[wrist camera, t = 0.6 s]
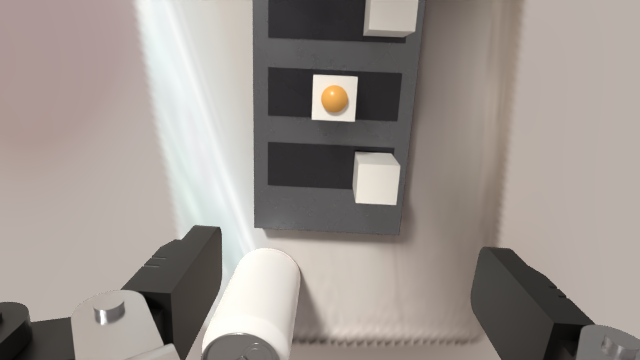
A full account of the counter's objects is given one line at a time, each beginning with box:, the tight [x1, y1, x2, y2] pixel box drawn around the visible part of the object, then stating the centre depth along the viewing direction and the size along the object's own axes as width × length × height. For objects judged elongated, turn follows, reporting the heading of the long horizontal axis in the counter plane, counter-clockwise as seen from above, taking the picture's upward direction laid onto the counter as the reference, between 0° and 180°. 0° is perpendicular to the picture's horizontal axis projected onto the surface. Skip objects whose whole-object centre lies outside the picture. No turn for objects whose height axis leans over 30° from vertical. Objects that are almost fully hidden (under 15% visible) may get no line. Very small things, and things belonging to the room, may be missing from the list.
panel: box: [253, 0, 426, 235], centre depth 30 cm, size 24×13×2 cm, turn 177°
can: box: [201, 248, 300, 360], centre depth 31 cm, size 6×6×12 cm
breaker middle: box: [312, 75, 358, 122], centre depth 27 cm, size 3×3×4 cm
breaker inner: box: [363, 0, 418, 37], centre depth 25 cm, size 3×3×4 cm
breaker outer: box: [353, 152, 400, 205], centre depth 29 cm, size 3×3×4 cm
